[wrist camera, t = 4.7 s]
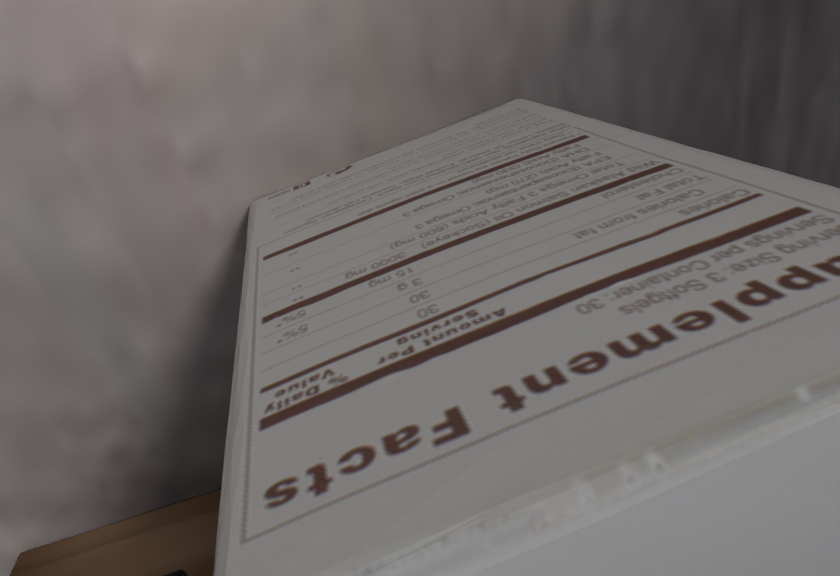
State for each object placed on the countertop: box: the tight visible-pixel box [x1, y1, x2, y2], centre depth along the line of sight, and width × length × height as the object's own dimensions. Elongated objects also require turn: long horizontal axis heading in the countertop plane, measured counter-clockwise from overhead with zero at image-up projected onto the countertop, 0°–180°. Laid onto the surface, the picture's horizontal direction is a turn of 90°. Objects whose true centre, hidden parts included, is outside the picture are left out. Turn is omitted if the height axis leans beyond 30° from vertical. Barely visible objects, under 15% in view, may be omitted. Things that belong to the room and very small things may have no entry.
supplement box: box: [213, 98, 840, 576], centre depth 11 cm, size 7×7×13 cm
